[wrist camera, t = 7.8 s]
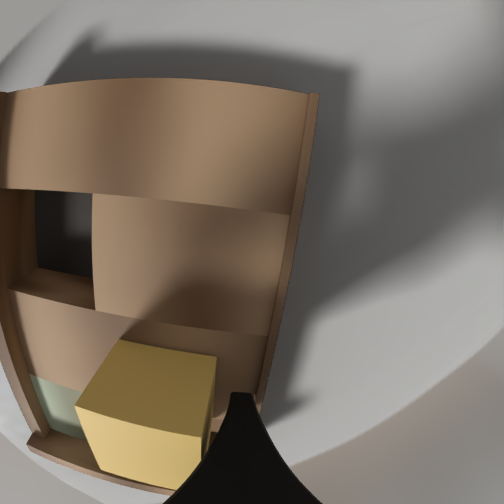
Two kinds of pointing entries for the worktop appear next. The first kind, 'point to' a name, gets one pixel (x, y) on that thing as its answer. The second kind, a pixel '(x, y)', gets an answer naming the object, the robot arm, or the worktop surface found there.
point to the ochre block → (149, 412)
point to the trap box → (144, 237)
